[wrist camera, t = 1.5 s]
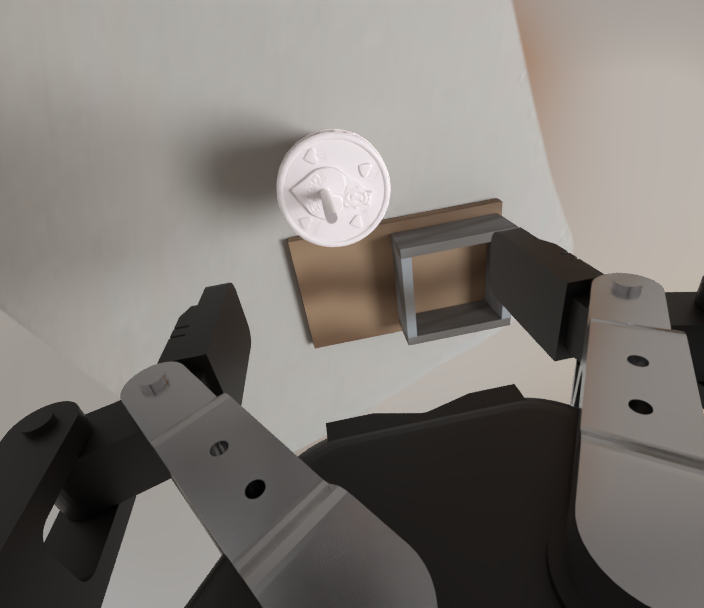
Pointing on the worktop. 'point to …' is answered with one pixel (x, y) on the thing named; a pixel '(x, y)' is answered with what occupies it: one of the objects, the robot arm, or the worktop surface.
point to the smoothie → (333, 188)
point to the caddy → (405, 278)
